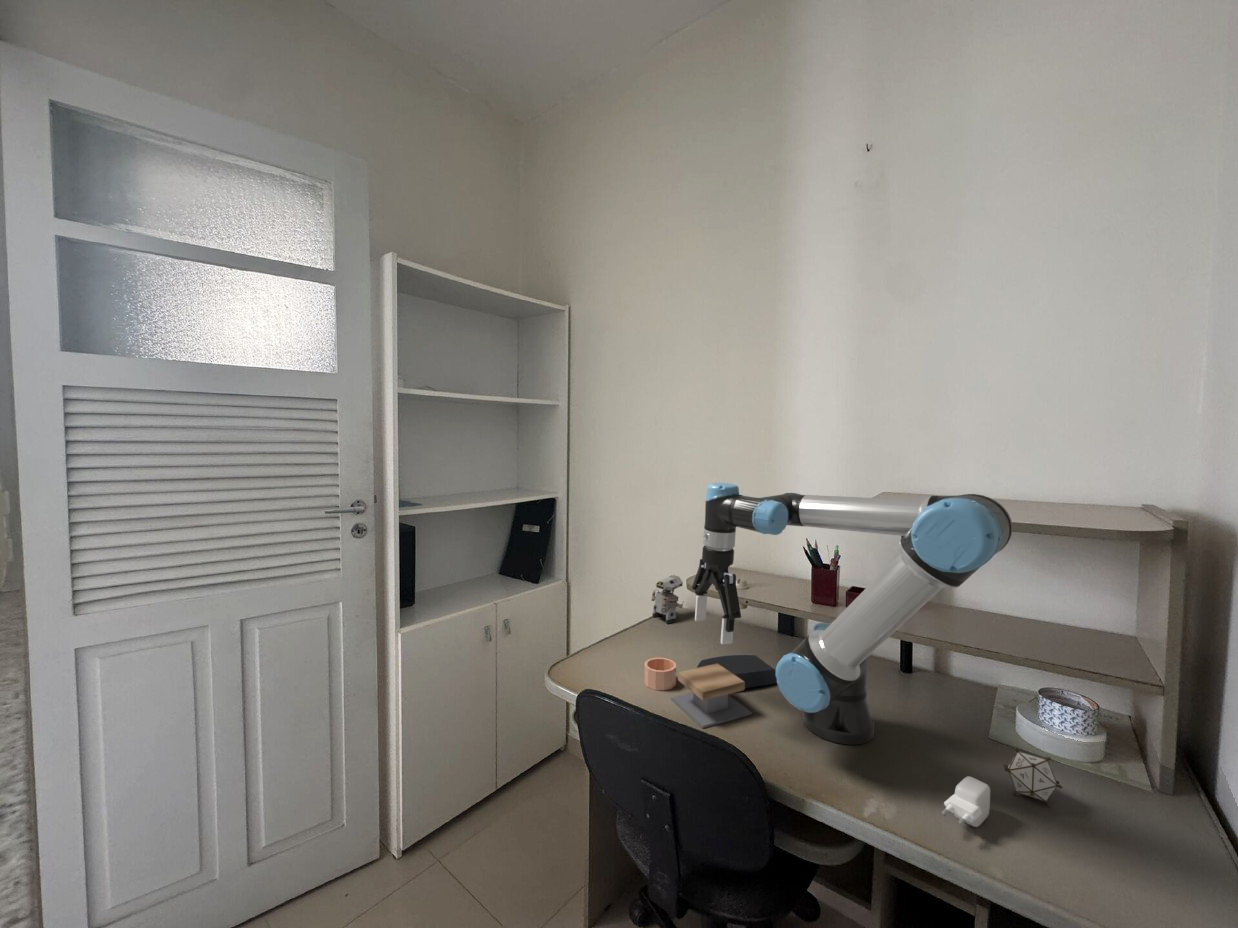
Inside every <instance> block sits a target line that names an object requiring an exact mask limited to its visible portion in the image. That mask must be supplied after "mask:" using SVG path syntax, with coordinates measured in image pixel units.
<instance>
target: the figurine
mask: <svg viewBox="0 0 1238 928" xmlns="http://www.w3.org/2000/svg"><path fill="white" fill-rule="evenodd" d="M655 586H656V589H658V590H657V592H656V590H654V591H652V593H651V594H652V595H651V602H654V601H655V602H654V605H653V607H652V608H653V610H652V615H651V616H652V617H653V618H658V617H663V616H664V615H665V620H664V622H665V623H666V624H668V625H669V624H672V623H673V624H674V623H676V622H677V620H678V619H677V613H676V609H677V608H680V609H681V608H683V605H684V604H683V603H684V601H682V603H679V598H680V597H679V596H678V595H675V593H674V592H675V590H676V589H677V588H680V587H683V580H682V579H681V578H680V576H678V575H675V574H673V575H670V576H668V577H666V578H664V579H660V580H658V582H656V583H655ZM659 589H660V590H662V591H659Z"/></svg>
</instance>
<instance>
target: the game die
mask: <svg viewBox="0 0 1238 928" xmlns="http://www.w3.org/2000/svg"><path fill="white" fill-rule="evenodd" d="M1014 750H1015V754H1014V756H1013V757H1012V759H1011V761H1010V762H1009V764H1008V765H1007V764H1004V765H1002V766H1003V767H1004V768H1003V770H1004V771H1005V772H1008V774H1009V777H1010V779H1011V782H1012V786H1013V787H1014V791H1012V796H1016V795H1017V794H1019V795H1020V794H1021V795H1023V796H1026V797H1030V798H1032V799H1036V800H1038V801H1042V802H1045V805H1046V806H1047V807H1048V808H1050V806H1051V804H1050V802H1048V801H1049V800H1050V799H1051V796H1052V795H1053V794H1054V792H1055V791H1056V789H1057V788H1058V789H1063V788H1064V787H1063V785H1061V782H1060V781H1059V780H1057V779H1056V777H1055V775H1054V771H1053V769H1052V768H1051V764H1050V762H1049V761H1051V760H1052V759H1051V758H1052V756H1047V757H1046V758H1043V757H1038V756H1035V755H1032V754H1028V753H1026V752H1022V751H1019V749H1018V747H1017V746H1014Z"/></svg>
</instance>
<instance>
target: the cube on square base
mask: <svg viewBox="0 0 1238 928" xmlns="http://www.w3.org/2000/svg"><path fill="white" fill-rule="evenodd" d="M670 700H671V702H673V703H674V704H675V705H676V706H677V707H678V708H680V710H682V711H683V712H684V713H685V714H686V715H687V716H688V717H689V718H691V720H692V721H694V722H695V724H697V725H698V726H699V727H700V728H701V729H706V728H709V727H714V726H716V725H720V724H723V723H727V722H730V721H735V720H737V719H742V718H744V717H747V716H748V717H749V716H752V711H751V710H749V709H748V708H747V707H745V706H744V705H742V704H741V703H740V702H739V701H738V700H736V699H734V698H733V697H732V696H731V695H730V694H727V695H723V696H719V697H715V698H711V699H707V700H704V701H703V700H702V699H700V698H699V697H698V696H697V695H695V694H694V693H693V692H692V691H691V692H688V693H684V694H683V693H682V694H680V695H675V696H672V697H670Z"/></svg>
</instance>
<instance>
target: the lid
mask: <svg viewBox="0 0 1238 928" xmlns="http://www.w3.org/2000/svg"><path fill="white" fill-rule="evenodd" d="M677 681H678V682H680V683H681V684H682V685H683V686H684V687H685V688H687V689H688V690H689V691H691V692H693V693H694V694H695V695H697V696H698V697H699V698H700V699H702V700H703V701H704V700H707V699H711V698H715V697H719V696H723V695H727V694H728V695H730V694H734V693H738V692H741V691H745V689H746V688H745V682H744V681H743V680H741V679H740V678H738V677H737V676H735V675H734V674H732V673H731V672H730V671H728V670H727V669H725V668H724V667H722V666H721V665H719V664H718V663H717V664H712V665H708V666H703V667H699V668H696V667H695V668H691V669H687V670H681V671H678V672H677Z"/></svg>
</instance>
